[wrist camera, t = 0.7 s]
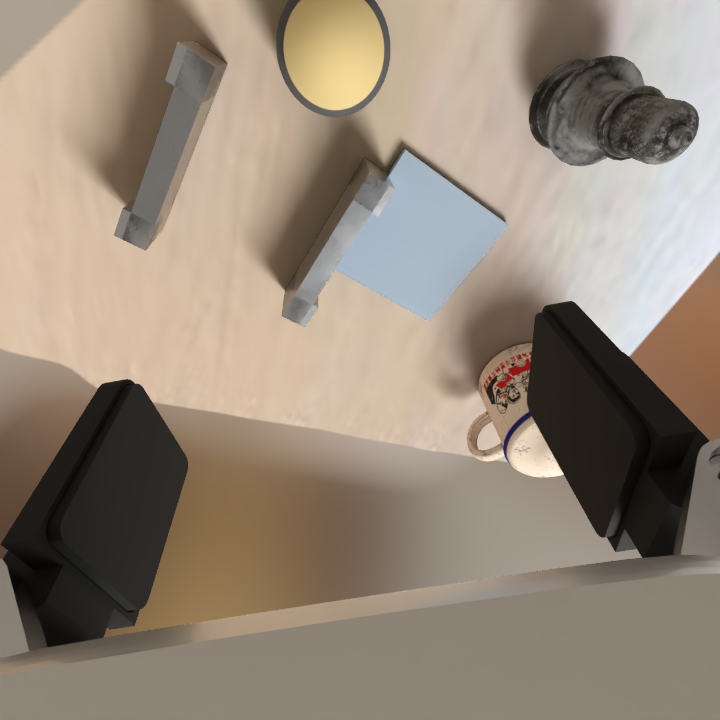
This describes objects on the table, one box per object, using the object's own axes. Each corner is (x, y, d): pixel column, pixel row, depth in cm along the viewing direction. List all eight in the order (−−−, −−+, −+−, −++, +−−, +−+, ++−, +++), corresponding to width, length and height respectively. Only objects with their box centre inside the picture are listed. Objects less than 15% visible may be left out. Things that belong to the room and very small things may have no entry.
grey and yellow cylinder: (312, -43, 24) (312, -59, 20) (400, 32, 26) (414, 31, 22) (265, 68, 26) (255, 73, 22) (347, 126, 29) (352, 140, 25)
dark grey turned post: (522, 72, 28) (631, 90, 18) (615, 39, 27) (779, 40, 17) (527, 165, 31) (620, 222, 22) (609, 139, 30) (744, 184, 21)
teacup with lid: (544, 321, 39) (613, 409, 30) (578, 379, 44) (647, 470, 35) (433, 387, 43) (465, 482, 34) (475, 434, 48) (513, 529, 39)
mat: (404, 148, 30) (405, 149, 29) (506, 222, 34) (508, 225, 33) (330, 264, 34) (330, 267, 34) (427, 318, 38) (428, 321, 38)
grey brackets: (195, 41, 25) (177, 41, 22) (387, 174, 31) (395, 189, 27) (134, 215, 31) (113, 235, 28) (306, 301, 36) (305, 327, 33)
